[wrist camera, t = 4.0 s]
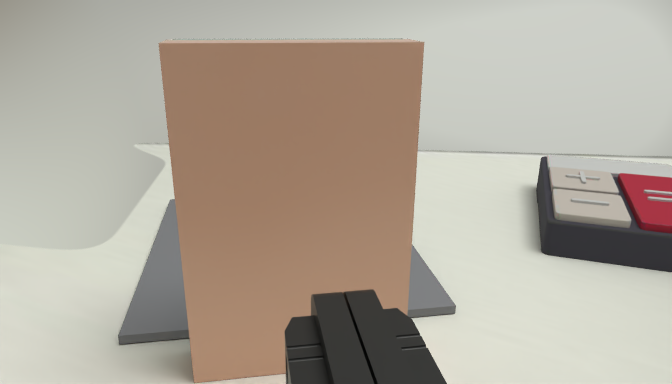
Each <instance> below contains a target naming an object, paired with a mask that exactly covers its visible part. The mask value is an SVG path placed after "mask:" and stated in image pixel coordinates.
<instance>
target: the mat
mask: <svg viewBox="0 0 672 384" xmlns="http://www.w3.org/2000/svg"><path fill="white" fill-rule="evenodd" d="M455 309H456V305H455V304H454V302H453V301H452V300H451V298H450V297H449V295H448V294H447V293H446V291H445V290H444V288H443V287H442V286H441V284H440V283H439V281H438V280H437V279H436V277H435V276H434V274H433V273H432V272H431V270H430V269H429V267H428V266H427V265H426V263H425V262H424V260H423V259H422V258H421V256H420V255H419V253H418V252H417V251H416V249H415V248H414V246H413V245H412V249H411V265H410V281H409V297H408V314H407V316H408V317H421V316H432V315H443V314H454V313H455ZM118 337H119V343H120V344H127V343H138V342H149V341H160V340H171V339H182V338H189V329H188V319H187V310H186V300H185V290H184V281H183V271H182V262H181V252H180V243H179V233H178V224H177V214H176V204H175V199H172V200H170V202H169V204H168V207H167V210H166V212H165V215H164V218H163V220H162V223H161V225H160V228H159V231H158V233H157V236H156V238H155V241H154V244H153V246H152V249H151V252H150V254H149V257H148V259H147V262H146V265H145V267H144V270H143V273H142V275H141V278H140V280H139V283H138V286H137V288H136V291H135V293H134V296H133V299H132V301H131V304H130V307H129V309H128V312H127V314H126V317H125V320H124V322H123V325H122V328H121V330H120V333H119V335H118Z"/></svg>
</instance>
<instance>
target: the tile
mask: <svg viewBox="0 0 672 384" xmlns="http://www.w3.org/2000/svg"><path fill="white" fill-rule="evenodd" d="M159 51H160V61H161V70H162V80H163V89H164V98H165V109H166V118H167V128H168V137H169V147H170V157H171V166H172V176H173V185H174V195H175V204H176V214H177V224H178V233H179V243H180V252H181V262H182V271H183V281H184V290H185V300H186V310H187V319H188V329H189V338H190V348H191V357H192V367H193V377H194V383H199V382H208V381H218V380H227V379H237V378H246V377H256V376H265V375H275V374H284V373H286V361H285V329H286V328H287V326H288V324H289V322H290V320H291V318H292V317H301V316H311V295H312V294H322V293H334V292H342V293H343V292H345V291H357V290H369V289H373V290H374V291H375V292H376V295H377V297H378V299H379V301H380V303H381V305H382V307H383V309H390V308H398V309H399V310H400V311H402V312H403V313H404V314H406V315H407V314H408V297H409V281H410V265H411V249H412V232H413V216H414V200H415V183H416V167H417V151H418V134H419V118H420V102H421V85H422V68H423V52H424V42H420V41H415V40H410V39H173V40H165V41H163V42H160V43H159Z"/></svg>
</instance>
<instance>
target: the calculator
mask: <svg viewBox="0 0 672 384" xmlns="http://www.w3.org/2000/svg"><path fill="white" fill-rule="evenodd" d="M536 191H537V202H538V207H539V223H540V237H541V248H542V252H543V253H544V254H546V255H552V256H559V257H566V258H573V259H580V260H587V261H595V262H602V263H609V264H616V265H623V266H630V267H638V268H645V269H652V270H659V271H666V272H672V166H671V165H668V164H658V163H646V162H634V161H621V160H609V159H597V158H585V157H573V156H561V155H547V157H542V158H541V162H540V169H539V176H538V183H537V190H536Z"/></svg>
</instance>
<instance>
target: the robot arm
mask: <svg viewBox="0 0 672 384" xmlns="http://www.w3.org/2000/svg"><path fill="white" fill-rule="evenodd" d="M285 361H286V384H447V383H446V381H445V379H444V378H443V376H442V374H441V372H440V370H439V368H438V366H437V365H436V363H435V361H434V359H433V357H432V355H431V354H430V352H429V350H428V348H426V344H425V342H424V341H423V339H422V337H421V336H420V333H419V331H418V329H417V328H416V326H415V324H414V322H413V320H412V319H411V318H410V317H408V316H407V315H406V314H404V313H403V312H402V311H400V310H399V309H398V308H390V309H383V307H382V305H381V303H380V301H379V299H378V297H377V295H376V292H375V291H374V290H373V289H369V290H357V291H345V292H343V293H342V292H334V293H322V294H312V295H311V316H301V317H292V318H291V320H290V322H289V324H288V326H287V328H286V329H285Z"/></svg>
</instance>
